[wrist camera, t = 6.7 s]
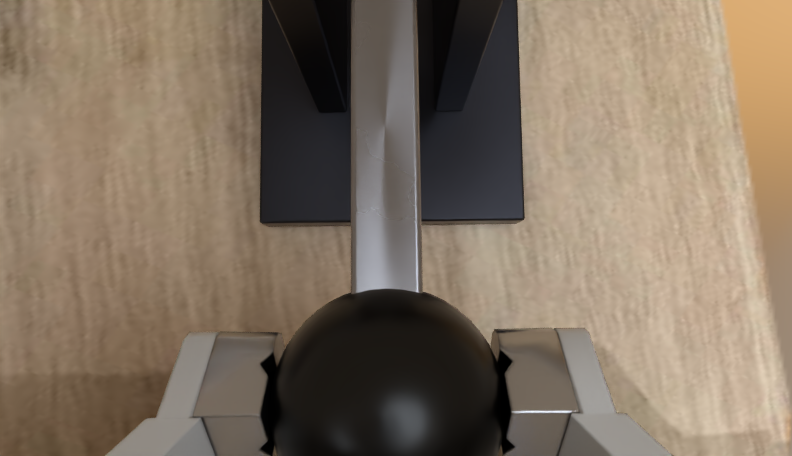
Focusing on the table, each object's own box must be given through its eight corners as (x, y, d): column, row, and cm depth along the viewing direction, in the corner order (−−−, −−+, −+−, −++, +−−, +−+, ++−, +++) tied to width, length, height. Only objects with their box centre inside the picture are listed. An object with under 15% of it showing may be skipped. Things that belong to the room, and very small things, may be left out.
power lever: (491, 493, 11) (537, 573, 7) (290, 495, 11) (236, 577, 7) (467, -151, 13) (493, -334, 9) (302, -149, 13) (265, -330, 9)
